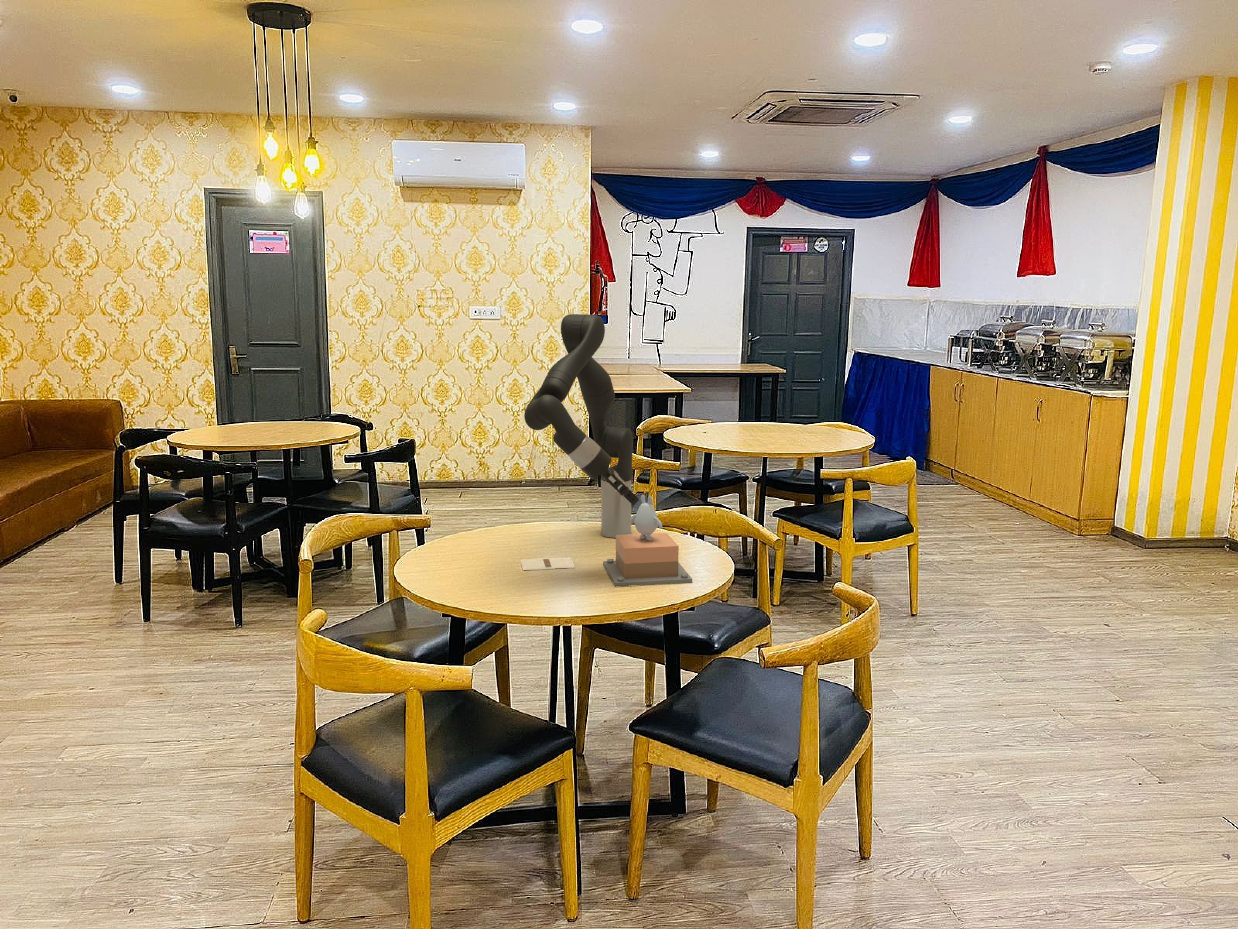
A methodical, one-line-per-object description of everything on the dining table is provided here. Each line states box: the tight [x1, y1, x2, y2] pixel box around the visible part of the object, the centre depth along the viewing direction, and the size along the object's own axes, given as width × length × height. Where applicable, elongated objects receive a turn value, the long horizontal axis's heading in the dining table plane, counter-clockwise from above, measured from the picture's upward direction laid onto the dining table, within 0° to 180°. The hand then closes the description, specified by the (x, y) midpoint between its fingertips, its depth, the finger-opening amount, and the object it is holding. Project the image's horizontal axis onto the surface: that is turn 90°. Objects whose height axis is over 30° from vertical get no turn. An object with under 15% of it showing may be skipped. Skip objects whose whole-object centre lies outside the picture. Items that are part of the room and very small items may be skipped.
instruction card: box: [520, 556, 576, 572], centre depth 252 cm, size 10×14×1 cm
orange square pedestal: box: [602, 532, 693, 588], centre depth 242 cm, size 20×20×9 cm
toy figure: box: [630, 494, 663, 541], centre depth 241 cm, size 11×6×12 cm, turn 50°
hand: (633, 498), depth 239 cm, fingers open, 8 cm apart
